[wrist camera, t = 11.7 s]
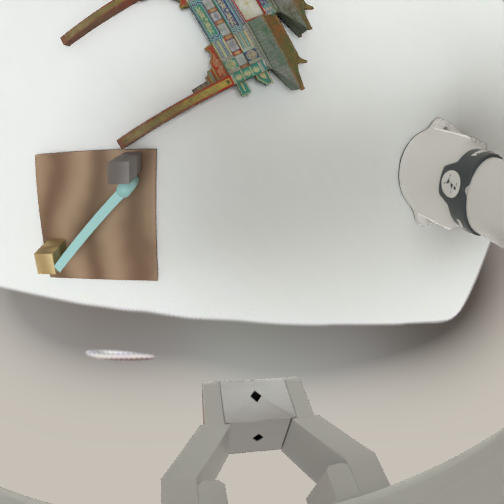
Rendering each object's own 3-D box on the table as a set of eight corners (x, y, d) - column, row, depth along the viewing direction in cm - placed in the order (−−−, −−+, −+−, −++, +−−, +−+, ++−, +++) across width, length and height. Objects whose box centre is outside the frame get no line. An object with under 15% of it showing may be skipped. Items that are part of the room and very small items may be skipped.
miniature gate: (45, 16, 24) (255, -90, 20) (62, 23, 29) (251, -72, 25) (133, 177, 36) (353, 70, 32) (143, 168, 41) (337, 73, 37)
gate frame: (156, 148, 38) (145, 158, 30) (158, 278, 46) (151, 313, 38) (37, 154, 35) (4, 167, 27) (52, 274, 42) (30, 306, 34)
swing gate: (142, 180, 38) (134, 190, 34) (73, 256, 41) (61, 274, 36) (132, 170, 38) (123, 179, 33) (64, 248, 40) (51, 265, 35)
